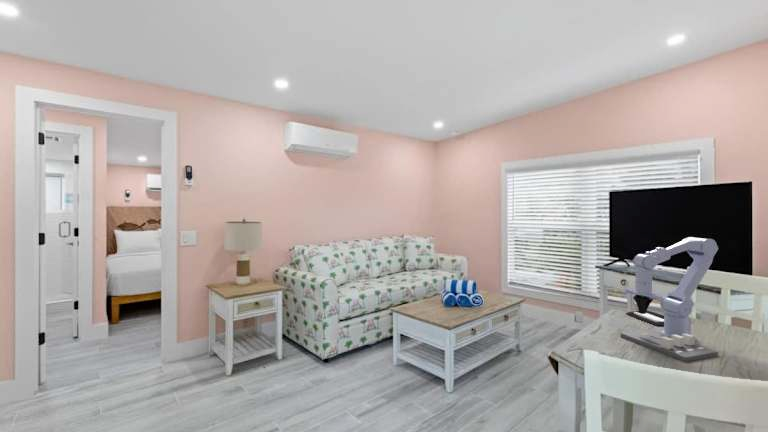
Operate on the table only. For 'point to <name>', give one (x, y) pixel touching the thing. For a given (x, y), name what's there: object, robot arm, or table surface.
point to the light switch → (648, 317)
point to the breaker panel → (669, 352)
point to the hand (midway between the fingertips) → (642, 313)
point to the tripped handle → (678, 340)
